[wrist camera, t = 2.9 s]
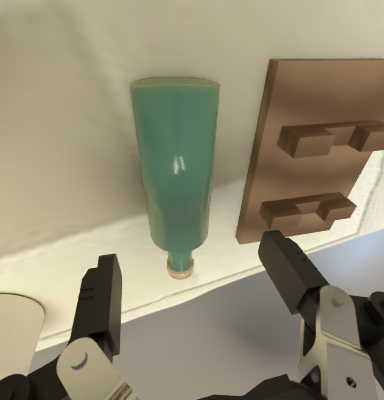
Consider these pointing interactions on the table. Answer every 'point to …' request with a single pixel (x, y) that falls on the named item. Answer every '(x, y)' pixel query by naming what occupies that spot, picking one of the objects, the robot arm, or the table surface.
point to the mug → (18, 333)
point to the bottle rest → (311, 144)
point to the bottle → (177, 161)
